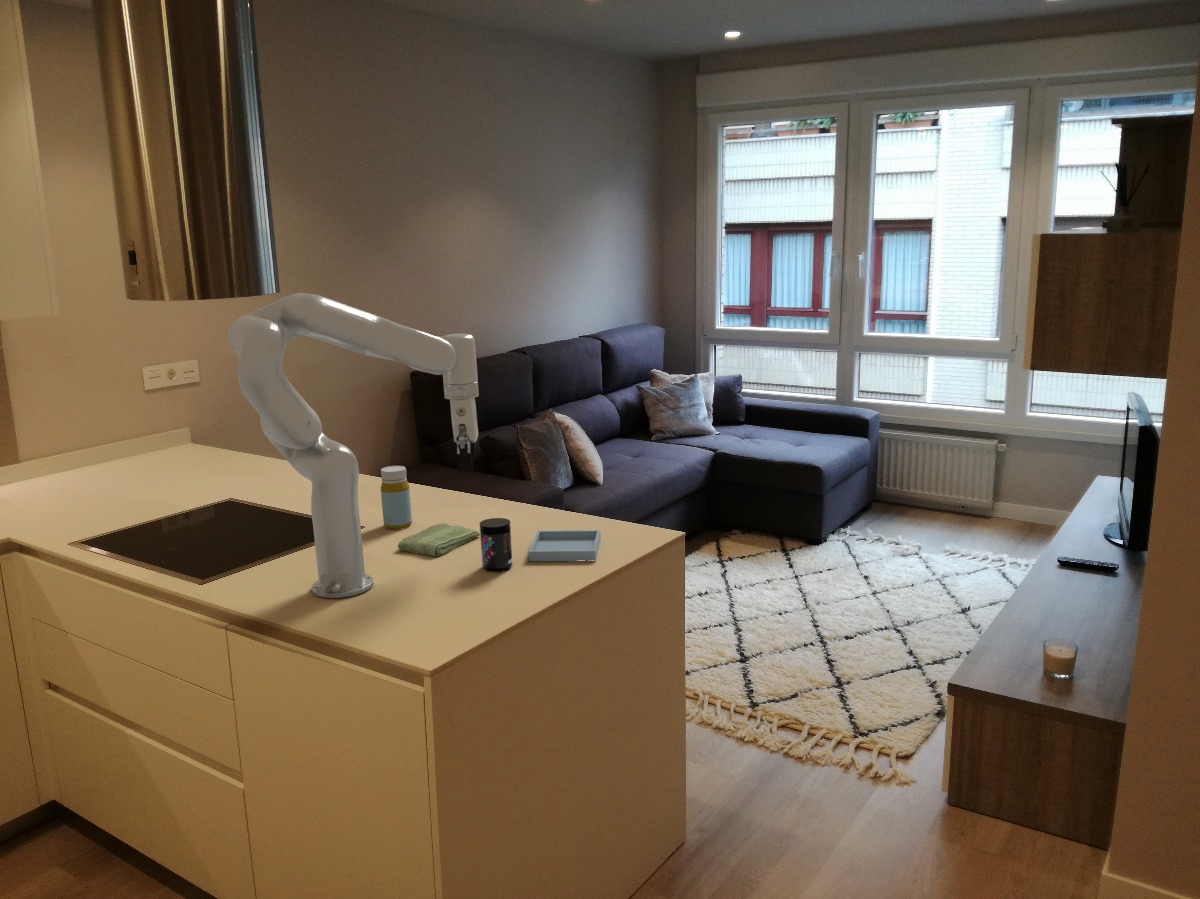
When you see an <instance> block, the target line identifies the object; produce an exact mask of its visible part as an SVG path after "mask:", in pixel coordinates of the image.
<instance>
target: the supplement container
mask: <svg viewBox="0 0 1200 899" xmlns="http://www.w3.org/2000/svg"><path fill="white" fill-rule="evenodd" d="M511 528H512V527H511V520H510V519H507V518H503V517H494V518H493V517H492V518H486V519H483V520H481V521H479V532H480V536H479V537H480V549H481V564H482V566H481V567H482V568H483V569H484V570H485V571H486V570H487V571H486V572H490V571H493V572H492V573H495V572H494V571H501V572H504V571H503V570H505V571H508V570H510V569H511V568H512V566H513V552H512V550H513V549H512V548H513V547H512V532H511V530H512V529H511ZM509 568H510V569H509ZM507 569H508V570H507Z"/></svg>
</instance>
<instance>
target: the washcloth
mask: <svg viewBox="0 0 1200 899" xmlns="http://www.w3.org/2000/svg"><path fill="white" fill-rule="evenodd" d="M477 536H478V537H481V536H480V531H479V530H476V529H473V528H472V529H471V528H468V527H464V526H462V525H451V524H449V523H444V522H442V523H439V524H433V525H431V526H428V527H427V528H425V529H422V530H420V532H417V533H414V534H410V535H409V536H407V537H404V538H402V540H400V541H399V542H398V545H397V548H398V550H399V551H401V552H408V551H409V553H412V552H413V553H412V554H416V552H417V554H420V553H422V554H423V555H424V556H428V555H431V556H430V557H432V556H438V557H440V556H442V555H444V554H447V553H446V552H448V553H450V552H452V551H453V550H452V549H454V548H456V547H458V546H459V547H461V546H463V545H465V544H466V543H468V542H467V541H469V542H470V541H472V539H473V540H475V539H477V538H478V537H477ZM476 537H477V538H476ZM474 538H475V539H474ZM462 544H463V545H462ZM460 545H461V546H460ZM459 547H458V548H459ZM456 549H457V548H456ZM402 550H403V551H402ZM451 550H452V551H451ZM454 550H455V549H454ZM449 551H450V552H449ZM422 554H421V555H422ZM439 555H440V556H439Z"/></svg>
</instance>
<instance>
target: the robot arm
mask: <svg viewBox="0 0 1200 899" xmlns="http://www.w3.org/2000/svg"><path fill="white" fill-rule="evenodd" d="M226 336H227V343H228V345H229V348H230V349H231V350H232V351H233V353H234V354H236V355H237V356H238V359H237V370H236V372H237V381H238V385H239V388H240V390H241V393H242V394H243V395H244V398H246V400H247V401H248V403H249V404H250V405H251V406H252V408H253V409H254V410H255V411H256V412H257V414H258V415H259V418H260V420H259V422H260V427H261V431H262V432H263V434H264V436H265V437H266V438H267V439H268V441H269V442H270V443H271V444H272V446H274V447H275V449H277V450H276V451H278V452H279V453H280V454H281V455H282V457H283V458H284V459H285V460H286V461H287V462H288V464H290V465H291V467H292V468H293V469H294V470H295V471H296V472H297V473H298V474H299V475H300V476H302V477H303V478H305V479H306V480H309V481H310V482H311V498H310V511H311V520H312V527H313V528H312V529H313V537H314V538H313V539H314V547H315V555H316V556H315V557H316V567H317V577H318V579H317V580H316V581H314V582H313V583H312V585H311V591H312V594H314V595H315V596H317V597H320V598H325V599H340V598H342V599H343V598H348V597H354V596H356V595H361V594H363V593H365V592H367V591H369V590H370V589H371V588H372V587H373V586H374V578H373V577H372V576H371V575H370V574H367V573H365V571H366V570H365V561H364V551H363V550H364V548H363V541H362V539H363V538H362V529H361V519H360V518H361V517H360V508H359V496H358V495H359V474H360V468H359V462H358V460H357V457H356V456H355V453H354V452H353V451H352V450H351V449H350V448H349V447H347V446H346V445H344V444H343V443H340V442H338V441H336V440H333V439H331V438H329V437H327V436H326V434H325V433H324V432H323V427H322V426H323V424H322V422H321V419H320V417H319V415H318V414H317V412H316V410H314V409H313V408H312V407H311V406H310V404H308V402H307V401H306V400H305V399H304V398H303V396H302V395H300V393H299V392H298V391H297V390H296V388H295V387H294V386H293V385H292V383H291V382H290V381H289V379H288V378H287V376H286V375H285V373H284V370H283V369H284V368H283V357H284V355H285V351H286V349H287V348H286V347H287V343H288V342H290V341H292V340H295V338H298V337H299V336H306V337H308V338H311V339H315V340H318V341H321V342H323V343H327V344H330V345H334V346H335V347H339V348H343V349H346V350H349V351H352V352H355V353H357V354H360V355H364V356H366V357H367V356H368V357H372V358H376V359H382V360H386V361H393V362H396V363H399V364H402V365H405V366H408V367H410V368H411V369H413V370H416V371H419V372H422V373H428V374H432V375H437V376H438V375H439V376H440V375H442V380H443V392H444V393H443V394H444V399H445V400H449V404H450V414H451V426H452V433H453V434H452V435H453V441H454V443H456V446H457V447H456V452H457V453H456V462H457V470H458V472H470V471H471V472H472V471H473V469H474V468H473V461H475V460H476V448H475V443H476V442H477V440H478V438H479V427H478V416H477V415H478V413H477V406H476V405H477V404H476V399H475V398H477V397H479V395H480V394H479V393H480V392H479V381H478V380H479V379H478V365H477V364H478V363H477V352H476V340H475V338H474V336H473V335H472V334H469V333H462V332H461V333H460V332H459V333H450V334H449V333H448V334H446V335H445V334H444V335H440V336H435V335H432V334H429V333H427V332H425V331H421V330H417V329H415V328H412V327H409V326H406V325H404V324H403V325H402V324H401V323H397V322H394V321H392V320H390V319H387V318H385V317H382V316H379V315H377V314H374V313H371V312H368V311H365V310H362V309H359V308H356V307H355V306H354V307H353V306H351V305H348V304H345V303H342V302H339V301H337V300H333V299H332V298H329V297H325V296H323V295H319V294H314V293H307V292H306V293H305V292H296V293H292V294H289V295H288V296H285V297H283V298H280V299H278V300H276V301H274V302H271V303H269V304H267V305H265V306H262V307H260V308H258V309H256V310H253V311H251V312H248V313H246V314H243V315H242V316H240V317H238V318H237V319H236V320H234V321H233V322H232V323H231V325H230V326H229V329H228V331H227V334H226Z"/></svg>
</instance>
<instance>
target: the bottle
mask: <svg viewBox="0 0 1200 899" xmlns="http://www.w3.org/2000/svg"><path fill="white" fill-rule="evenodd" d="M380 477H381V485H380V496H381V497H380V498H381V506H382V519H383V526H384V527H385V528H386V529H388V528H389V530H394V529H396V530H402V529H401V528H404V529H407V528H409V527H410V526H411V524H412V523H413V517H412V504H411V493H410V492H411V491H410V484H409V482H408V479H407V468H406V467H405V466H403V465H389V466H385V467H382V468H381V469H380ZM406 527H407V528H406Z"/></svg>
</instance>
